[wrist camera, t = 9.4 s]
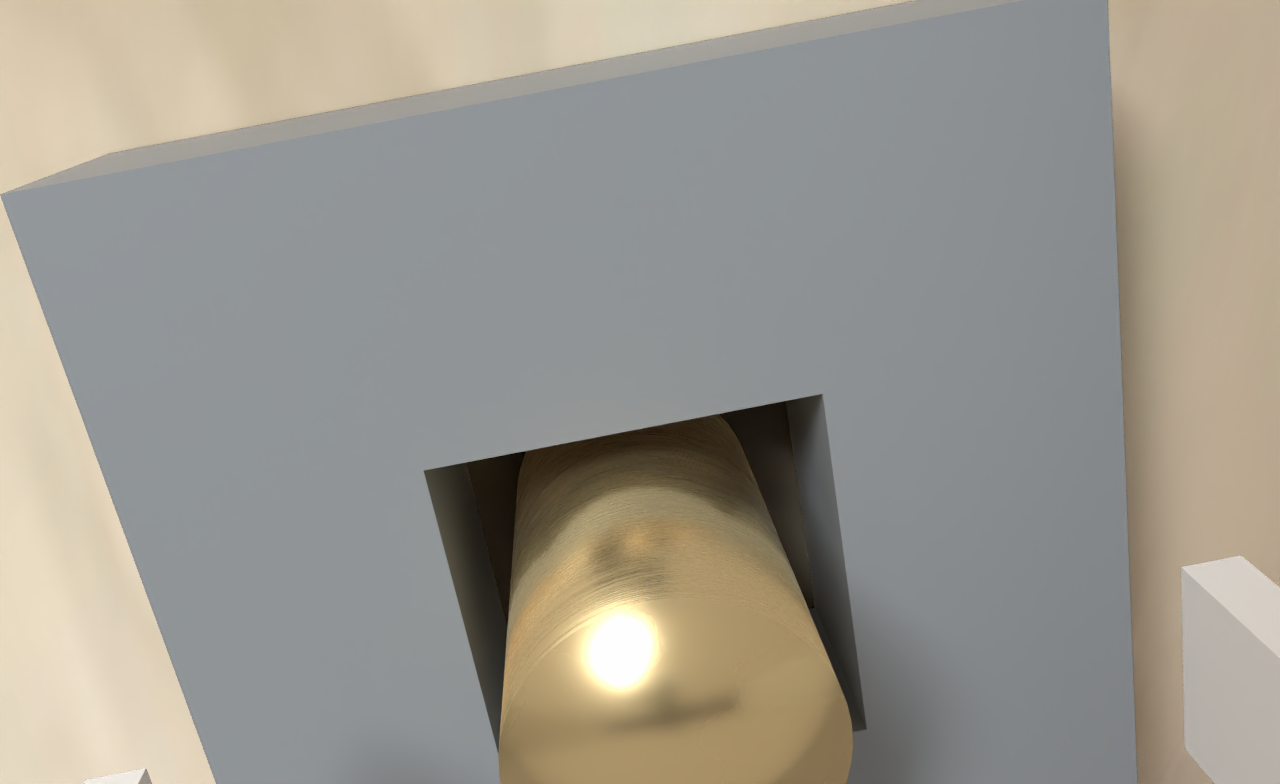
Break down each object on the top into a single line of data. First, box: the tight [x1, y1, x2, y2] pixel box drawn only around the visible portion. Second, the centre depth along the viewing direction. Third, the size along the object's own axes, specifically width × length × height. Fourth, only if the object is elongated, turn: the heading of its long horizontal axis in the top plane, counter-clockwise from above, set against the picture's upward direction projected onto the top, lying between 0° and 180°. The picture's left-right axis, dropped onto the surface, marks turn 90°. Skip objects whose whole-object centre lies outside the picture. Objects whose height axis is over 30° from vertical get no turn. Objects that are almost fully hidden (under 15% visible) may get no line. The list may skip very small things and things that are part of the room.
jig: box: [0, 0, 1137, 784], centre depth 20 cm, size 16×15×4 cm
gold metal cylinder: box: [498, 414, 853, 784], centre depth 18 cm, size 4×4×8 cm
